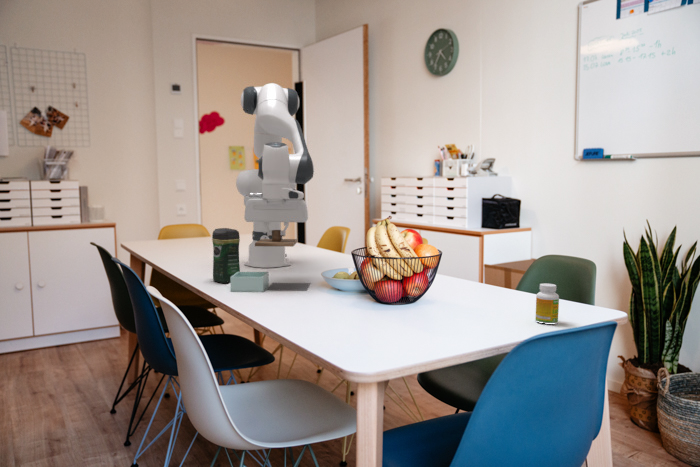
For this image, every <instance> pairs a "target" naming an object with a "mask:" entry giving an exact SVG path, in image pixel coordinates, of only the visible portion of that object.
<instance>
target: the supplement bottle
mask: <svg viewBox="0 0 700 467" xmlns="http://www.w3.org/2000/svg"><path fill="white" fill-rule="evenodd" d="M556 292H557V285H556V284H554V283H539V292H538V293H537V292H536V300H535V303H536V304H535V322H536V321H539V322H543V323H557V322H558V323H559V310H560V309H559V306H560V305H559V303H560V295H559V294H558V293H556ZM558 323H557V324H558Z"/></svg>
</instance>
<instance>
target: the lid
mask: <svg viewBox="0 0 700 467" xmlns="http://www.w3.org/2000/svg"><path fill="white" fill-rule="evenodd" d="M280 231H282V229H281V230H272V239H260V240H259V241H257V242H256V243H255V246H285V247H291V248H292V247H294V246H295V245H296V244H297V243H298V239H297V238H282V239H281V236H280V234H281V233H280Z"/></svg>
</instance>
